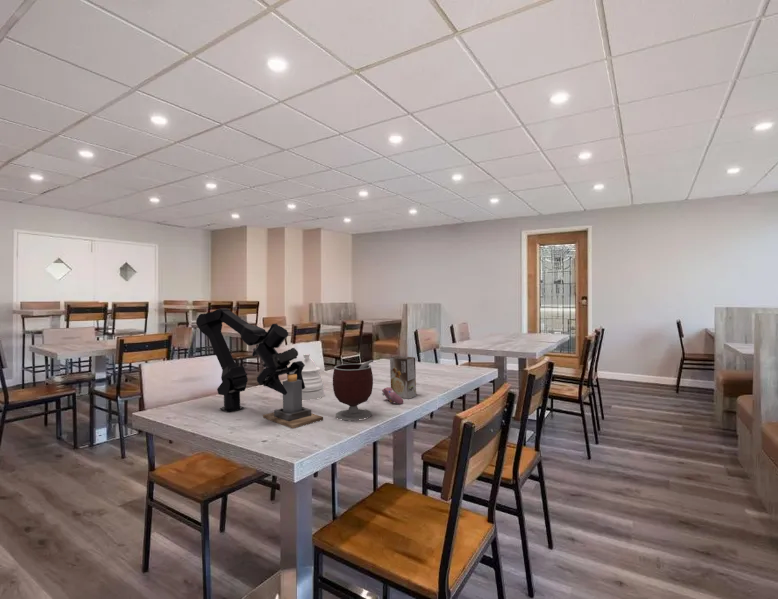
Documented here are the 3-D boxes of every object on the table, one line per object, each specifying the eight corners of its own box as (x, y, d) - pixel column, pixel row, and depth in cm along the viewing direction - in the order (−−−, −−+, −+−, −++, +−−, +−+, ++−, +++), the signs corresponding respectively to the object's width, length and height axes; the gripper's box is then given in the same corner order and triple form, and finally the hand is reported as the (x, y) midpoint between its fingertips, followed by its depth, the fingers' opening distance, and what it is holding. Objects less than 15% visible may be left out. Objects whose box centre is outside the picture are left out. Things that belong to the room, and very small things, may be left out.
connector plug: (283, 416, 138) (282, 375, 138) (292, 413, 142) (291, 373, 142) (293, 418, 136) (292, 376, 136) (302, 414, 140) (301, 374, 140)
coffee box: (417, 396, 168) (416, 357, 168) (408, 399, 163) (407, 359, 163) (399, 393, 174) (398, 355, 174) (389, 396, 169) (389, 357, 169)
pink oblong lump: (386, 403, 164) (378, 388, 162) (395, 397, 165) (387, 382, 164) (395, 409, 154) (387, 393, 153) (405, 402, 156) (397, 387, 155)
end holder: (263, 417, 141) (263, 409, 141) (292, 410, 150) (292, 402, 150) (292, 428, 128) (292, 419, 128) (323, 419, 137) (323, 410, 137)
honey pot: (320, 400, 164) (319, 355, 163) (288, 400, 164) (288, 356, 164) (326, 393, 176) (325, 351, 176) (296, 393, 177) (296, 351, 177)
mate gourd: (324, 417, 140) (323, 359, 139) (350, 408, 151) (349, 354, 151) (360, 425, 131) (359, 362, 131) (385, 414, 142) (384, 357, 142)
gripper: (262, 344, 132) (289, 380, 127) (300, 338, 149) (325, 370, 144) (245, 366, 136) (271, 403, 131) (284, 359, 153) (307, 391, 148)
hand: (295, 391), depth 138 cm, fingers open, 9 cm apart
